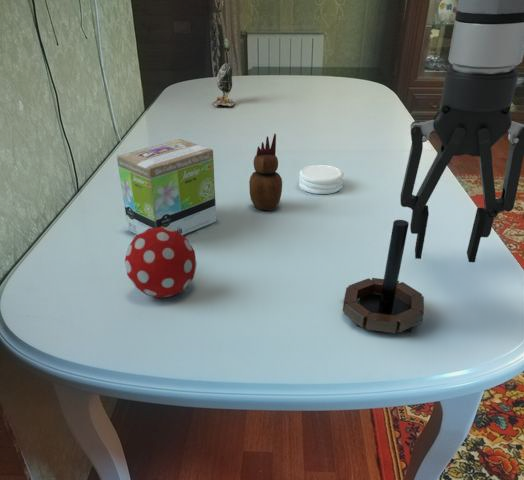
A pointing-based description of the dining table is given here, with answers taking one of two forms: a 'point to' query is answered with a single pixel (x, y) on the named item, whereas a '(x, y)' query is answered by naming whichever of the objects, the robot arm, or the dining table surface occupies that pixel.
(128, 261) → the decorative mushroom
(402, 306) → the stand
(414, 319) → the ring
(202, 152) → the tea box
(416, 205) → the robot arm
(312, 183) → the coaster
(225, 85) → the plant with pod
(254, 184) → the wooden figurine
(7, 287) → the dining table surface
